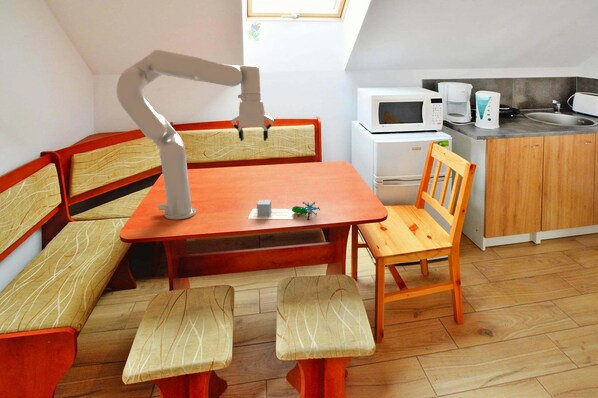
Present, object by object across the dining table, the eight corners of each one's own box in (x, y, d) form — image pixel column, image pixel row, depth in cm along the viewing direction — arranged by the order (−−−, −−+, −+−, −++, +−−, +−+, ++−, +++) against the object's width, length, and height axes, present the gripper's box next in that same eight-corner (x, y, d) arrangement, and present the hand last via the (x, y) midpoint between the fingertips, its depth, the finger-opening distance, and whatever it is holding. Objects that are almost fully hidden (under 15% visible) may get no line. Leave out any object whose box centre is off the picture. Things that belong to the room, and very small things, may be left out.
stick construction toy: (323, 209, 170) (315, 198, 165) (321, 223, 166) (313, 212, 161) (297, 213, 175) (288, 203, 170) (294, 227, 171) (285, 217, 166)
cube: (257, 215, 170) (256, 204, 168) (259, 211, 175) (259, 200, 173) (269, 216, 170) (269, 204, 168) (271, 211, 174) (271, 200, 173)
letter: (247, 218, 168) (247, 218, 168) (252, 208, 178) (252, 208, 178) (292, 219, 166) (292, 219, 166) (295, 209, 176) (295, 209, 176)
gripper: (227, 99, 164) (230, 142, 170) (271, 98, 163) (273, 142, 169) (232, 96, 171) (235, 138, 177) (274, 96, 170) (275, 138, 176)
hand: (253, 140), depth 173 cm, fingers open, 9 cm apart
